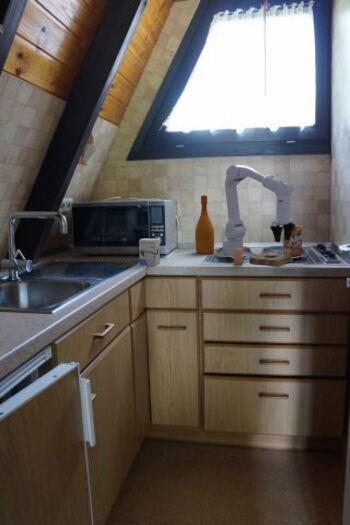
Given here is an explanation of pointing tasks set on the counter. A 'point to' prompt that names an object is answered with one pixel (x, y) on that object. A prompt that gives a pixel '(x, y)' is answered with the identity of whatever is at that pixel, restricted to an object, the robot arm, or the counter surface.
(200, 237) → the wine bottle
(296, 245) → the candy box
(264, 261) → the socket block
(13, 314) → the counter surface
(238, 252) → the peg
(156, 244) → the ink box
